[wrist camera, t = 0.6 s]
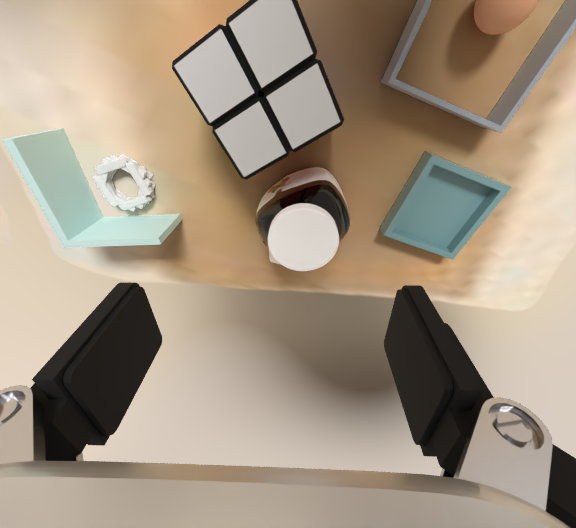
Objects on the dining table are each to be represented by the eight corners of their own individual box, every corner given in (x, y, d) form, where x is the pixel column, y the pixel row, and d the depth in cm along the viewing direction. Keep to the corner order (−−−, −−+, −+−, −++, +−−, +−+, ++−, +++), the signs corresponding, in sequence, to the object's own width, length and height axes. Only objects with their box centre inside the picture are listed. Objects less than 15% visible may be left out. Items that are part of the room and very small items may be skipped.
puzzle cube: (333, 112, 31) (346, 123, 22) (257, 157, 34) (243, 182, 25) (289, 5, 26) (285, -31, 18) (205, 69, 29) (167, 64, 21)
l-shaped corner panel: (183, 218, 39) (160, 244, 33) (101, 221, 40) (63, 247, 33) (156, 122, 32) (121, 131, 26) (58, 128, 33) (1, 139, 27)
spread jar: (326, 152, 33) (337, 182, 23) (358, 229, 38) (379, 280, 29) (241, 196, 36) (219, 239, 27) (282, 262, 42) (276, 317, 32)
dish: (425, 150, 32) (432, 154, 31) (500, 181, 34) (511, 187, 32) (379, 228, 38) (383, 235, 36) (446, 251, 40) (452, 259, 38)
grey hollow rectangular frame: (500, -185, 20) (528, -223, 17) (636, -96, 22) (679, -119, 19) (380, 82, 29) (388, 82, 26) (485, 128, 31) (501, 132, 28)
